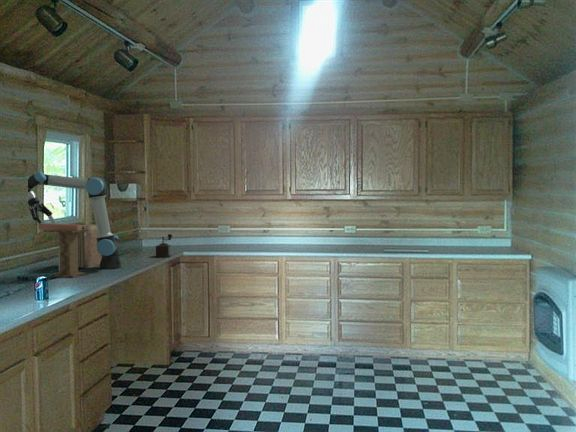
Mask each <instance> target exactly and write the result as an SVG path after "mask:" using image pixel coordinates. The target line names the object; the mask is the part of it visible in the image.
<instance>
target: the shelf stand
mask: <svg viewBox="0 0 576 432" xmlns="http://www.w3.org/2000/svg"><path fill="white" fill-rule="evenodd" d="M83 231H86V230H78V231H73V230H50V233H58V242H59V243H58V244H59V246H58V247H59V248H58V250H59V252H58V254H59V253H60V271H59V272H57V273H56V272H55V273H52V274H51V277H55V278H69V279H77V278H79V277H83V276H87V272H81V271H79V268H78V232H83Z"/></svg>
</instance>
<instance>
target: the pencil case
mask: <svg viewBox="0 0 576 432" xmlns="http://www.w3.org/2000/svg"><path fill="white" fill-rule="evenodd" d="M82 225H83V224H72V223H71V224H66V223H56V224H52V223H44V224H39V223H38V230H44V231H45V230H46V231H49V230H50V231H51V230H73V231H78V230H82Z"/></svg>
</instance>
